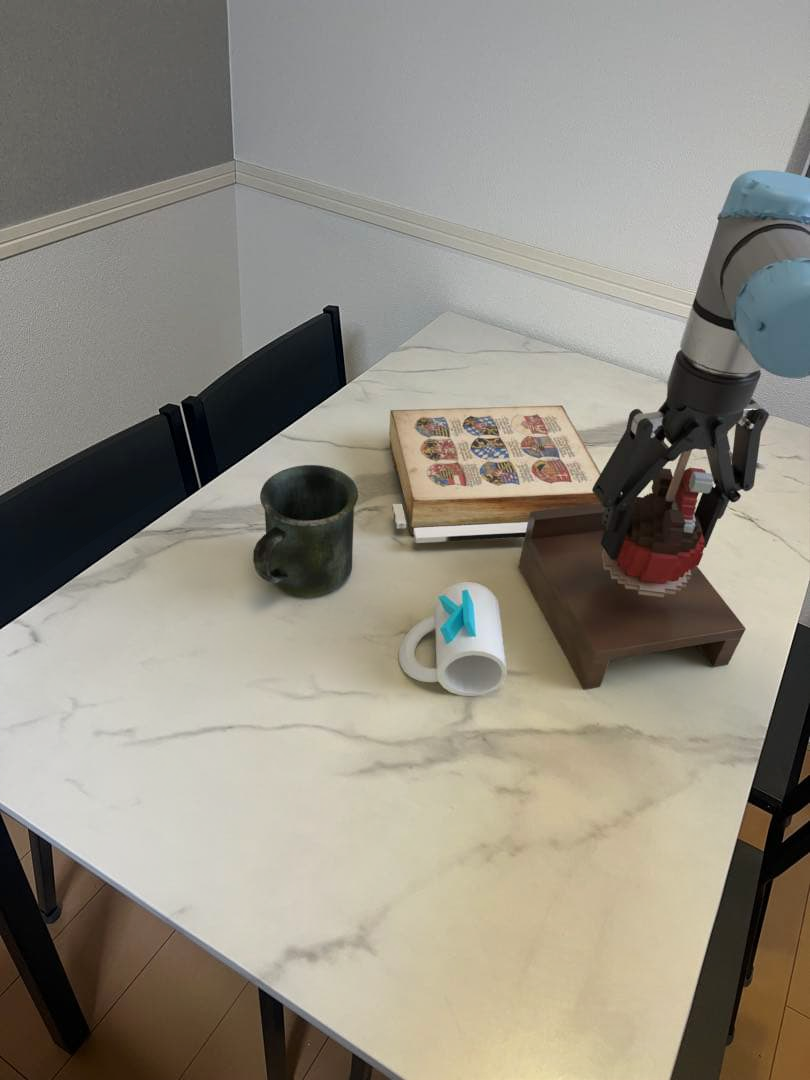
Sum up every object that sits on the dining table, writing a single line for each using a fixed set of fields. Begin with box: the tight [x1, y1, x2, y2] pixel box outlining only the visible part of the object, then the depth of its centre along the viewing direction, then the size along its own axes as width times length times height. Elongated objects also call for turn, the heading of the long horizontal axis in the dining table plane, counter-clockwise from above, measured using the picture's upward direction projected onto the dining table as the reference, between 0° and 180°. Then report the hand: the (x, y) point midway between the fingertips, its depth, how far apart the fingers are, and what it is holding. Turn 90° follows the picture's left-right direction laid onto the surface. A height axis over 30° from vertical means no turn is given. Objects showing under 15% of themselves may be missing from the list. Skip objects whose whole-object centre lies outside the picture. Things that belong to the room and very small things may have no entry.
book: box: [388, 404, 602, 544], centre depth 111 cm, size 25×6×28 cm
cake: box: [602, 450, 714, 597], centre depth 83 cm, size 11×9×18 cm
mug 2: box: [398, 581, 508, 697], centre depth 87 cm, size 12×9×12 cm
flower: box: [729, 445, 769, 466], centre depth 124 cm, size 8×8×3 cm
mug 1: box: [252, 464, 359, 598], centre depth 93 cm, size 11×15×12 cm
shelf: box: [518, 504, 747, 690], centre depth 93 cm, size 20×18×9 cm
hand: (653, 545), depth 86 cm, fingers closed on cake, 10 cm apart
